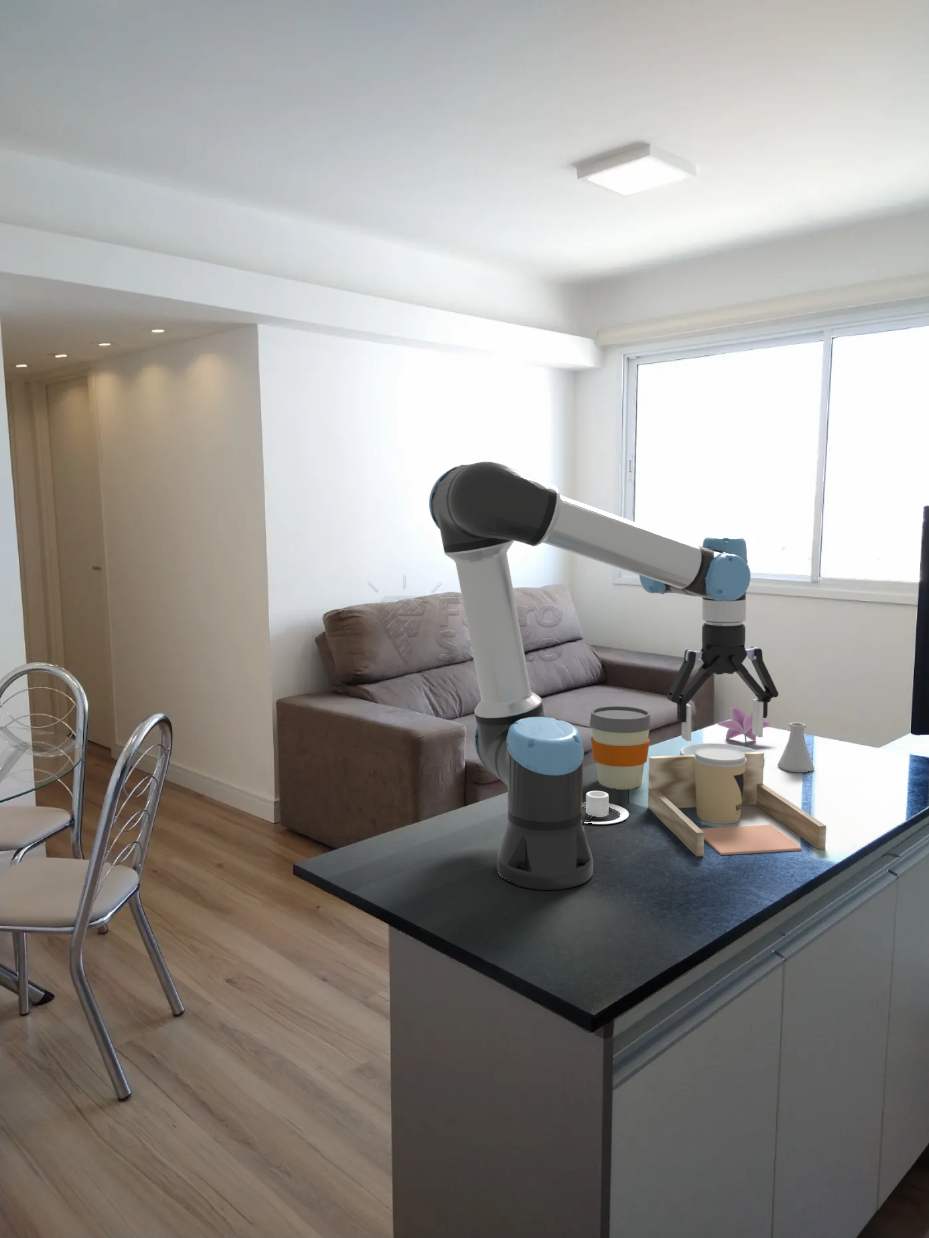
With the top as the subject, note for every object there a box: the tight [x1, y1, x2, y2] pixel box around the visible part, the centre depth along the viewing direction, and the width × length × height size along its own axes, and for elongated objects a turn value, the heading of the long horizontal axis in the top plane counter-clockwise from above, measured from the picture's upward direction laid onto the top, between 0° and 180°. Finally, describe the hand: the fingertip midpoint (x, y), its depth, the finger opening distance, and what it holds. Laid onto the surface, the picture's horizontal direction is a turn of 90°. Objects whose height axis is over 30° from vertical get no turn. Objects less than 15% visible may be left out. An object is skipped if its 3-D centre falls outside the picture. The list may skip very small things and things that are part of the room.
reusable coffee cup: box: [589, 705, 652, 790], centre depth 181 cm, size 13×13×15 cm
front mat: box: [700, 824, 803, 856], centre depth 150 cm, size 14×11×1 cm
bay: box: [647, 751, 827, 857], centre depth 156 cm, size 22×24×10 cm
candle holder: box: [583, 790, 630, 825], centre depth 163 cm, size 12×12×4 cm
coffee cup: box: [694, 747, 747, 825], centre depth 161 cm, size 9×9×12 cm
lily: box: [717, 705, 775, 748], centre depth 211 cm, size 12×12×10 cm
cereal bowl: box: [679, 742, 766, 770], centre depth 179 cm, size 17×17×7 cm
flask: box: [777, 722, 815, 773], centre depth 190 cm, size 7×7×10 cm
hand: (722, 737), depth 160 cm, fingers open, 13 cm apart
